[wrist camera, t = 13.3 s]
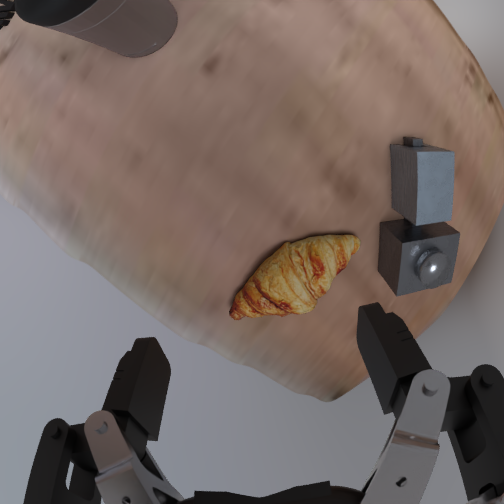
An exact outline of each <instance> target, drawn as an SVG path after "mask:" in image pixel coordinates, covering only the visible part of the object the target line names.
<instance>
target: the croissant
mask: <svg viewBox="0 0 504 504" xmlns="http://www.w3.org/2000/svg"><path fill="white" fill-rule="evenodd" d="M359 247H360V240H359V239H358V238H357V237H356V236H353V235H324V236H316V237H309V238H306V239H304V240H300V241H297V242H294V243H292V244H291V243H290V242H285V243H284V244H283V245H282V246H281V247H280V248H279V249H278V250H277V251H276V252H275V253H274V254H273V255H272V256H270V257H268V258H267V259H266V260H265V261H264V262H263V263H262V264H261V265H260V266H259V268H258V269H257V270H256V272H255V273H254V275H253V276H251V277H250V279H249V280H248V282H247V283H246V284H245V286H244V287H243V289H242V290H240V291H239V292H238V293H237V295H236V297H235V299H234V302H233V305H232V307H231V309H230V311H229V314H230V316H231V317H232V318H233V319H234V320H240V319H241V318H242V317H245V316H247V317H251V318H255V317H262V316H264V315H280V316H281V317H283V316H286V315H288V314H291V313H293V314H302V313H307V312H310V311H312V310H313V309H314V308H315V305H316V304H317V299H318V298H319V297H321V296H322V295H324V294H325V293H326V291H327V290H328V289H329V288H330V286H331V282H332V280H333V279H334V278H335V276H336V275H337V274H338V273H340V272H341V271H342V270H343V269H344V268H346V266H347V264H348V262H349V260H350V258H351V255H353V254H355V253H356V252H357V251H358V249H359Z"/></svg>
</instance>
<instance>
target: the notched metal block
mask: <svg viewBox="0 0 504 504" xmlns="http://www.w3.org/2000/svg"><path fill="white" fill-rule="evenodd" d="M390 155H391V183H392V208H393V209H394V210H396V211H397V212H398V213H400V214H401V215H402V216H404V217H405V218H406V219H408V220H409V221H410V222H412V223H413V224H414V225H416V226H418V225H424V224H431V223H437V222H444V221H450V220H451V216H452V205H453V189H454V151H450V150H446V149H443V148H439V147H435V146H431V145H427V144H423V147H407V146H403V145H399V144H390Z"/></svg>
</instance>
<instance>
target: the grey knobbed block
mask: <svg viewBox="0 0 504 504" xmlns="http://www.w3.org/2000/svg"><path fill="white" fill-rule="evenodd" d="M404 146H407V147H423V141H422V139H419V138H414V137H404ZM459 238H460V232H458V231H457V230H455V229H454V228H453V227H451V226H450V225H448V224H447V223H445V222H437V223H431V224H424V225H418V226H416V225H414V224H413V223H412V222H410V221H409V220H408V219H406V218H405V217H404V219H402V220H395V221H388V222H381V223H380V241H379V261H378V272H379V273H380V274H381V276H382V277H383V278H384V280H385V281H386V282H387V284H388V285H389V287H390V288H391V289H392V291H393V292H394V294H395V295H396V296H401V295H405V294H409V293H413V292H417V291H421V290H425V289H429V288H430V289H433V288H436V287H438V286H440V285H443V284H447V283H451V281H452V276H453V271H454V266H455V261H456V256H457V250H458V244H459Z"/></svg>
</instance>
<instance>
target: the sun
mask: <svg viewBox="0 0 504 504" xmlns="http://www.w3.org/2000/svg"><path fill="white" fill-rule="evenodd" d="M0 3H1V4H4V5H5V6H0V19H10V18H12V17H13V15H14V14H15V13H11V12H10V11H16V10H15V0H14V1H13V2H11V1H8V0H0ZM2 12H4V13H2ZM9 22H10V21H9V20H0V29H1V28H2V27H3V26H8V24H9Z"/></svg>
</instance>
